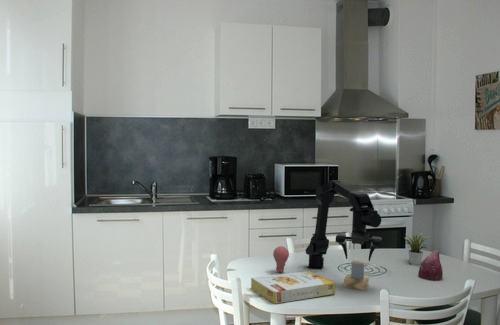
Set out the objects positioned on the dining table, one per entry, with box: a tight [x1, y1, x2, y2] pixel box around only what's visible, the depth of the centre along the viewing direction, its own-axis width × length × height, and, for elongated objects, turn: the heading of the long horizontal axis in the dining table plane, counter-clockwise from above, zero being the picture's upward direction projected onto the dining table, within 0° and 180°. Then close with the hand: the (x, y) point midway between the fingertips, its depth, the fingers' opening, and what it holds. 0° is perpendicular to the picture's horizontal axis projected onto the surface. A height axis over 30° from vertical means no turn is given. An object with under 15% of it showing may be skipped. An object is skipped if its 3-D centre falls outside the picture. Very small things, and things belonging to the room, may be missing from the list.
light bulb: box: [272, 245, 290, 273], centre depth 221 cm, size 7×7×12 cm
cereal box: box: [250, 270, 336, 304], centre depth 195 cm, size 20×6×28 cm
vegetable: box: [417, 248, 444, 282], centre depth 220 cm, size 10×10×15 cm
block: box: [343, 273, 370, 291], centre depth 204 cm, size 9×9×4 cm
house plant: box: [404, 232, 432, 266], centre depth 244 cm, size 14×14×16 cm
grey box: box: [350, 259, 365, 280], centre depth 204 cm, size 5×5×7 cm
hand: (357, 259), depth 204 cm, fingers open, 9 cm apart
